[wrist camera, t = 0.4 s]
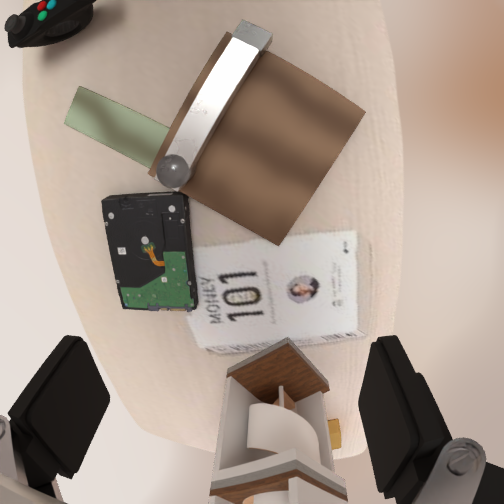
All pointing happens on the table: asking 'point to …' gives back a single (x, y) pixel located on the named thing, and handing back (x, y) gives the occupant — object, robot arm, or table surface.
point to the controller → (48, 22)
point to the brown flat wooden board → (241, 141)
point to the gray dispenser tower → (275, 433)
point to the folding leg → (212, 104)
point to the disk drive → (151, 250)
